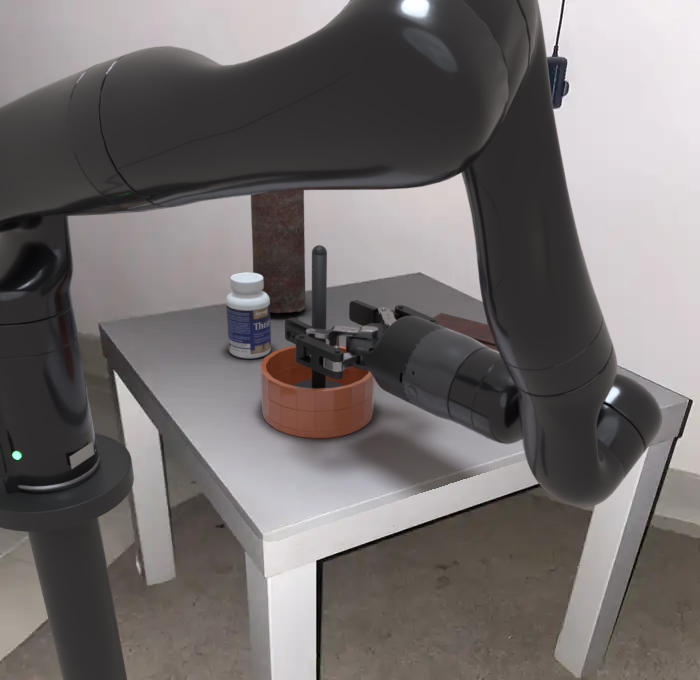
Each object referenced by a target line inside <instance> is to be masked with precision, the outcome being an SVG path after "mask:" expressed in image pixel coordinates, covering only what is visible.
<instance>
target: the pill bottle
mask: <svg viewBox="0 0 700 680" xmlns="http://www.w3.org/2000/svg"><path fill="white" fill-rule="evenodd" d="M263 288H264V281H263V276H262V275H260V274H257V273H253V272H251V271H244V272H238V273H234V274H232V275H231V276H230V289H231V290H232V291H231V292H230V293H228V295H227V296H226V297H225V300H226V301H225V305H226V306H225V307H226V320H227V321H226V323H227V343H228V350H229V353H230V354H231V355H233V356H235V357H236V358H240V359H249V360H250V359H258V358H263V357H266V356H268V355H269V354H270V352H271V350H272V335H271V334H272V333H271V332H272V331H271V312H270V299H269V296H268V295H267V294H266V293H265V292H264V291H262V290H263Z"/></svg>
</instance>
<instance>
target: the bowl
mask: <svg viewBox="0 0 700 680" xmlns="http://www.w3.org/2000/svg"><path fill="white" fill-rule="evenodd" d="M327 344H328V345H329V343H327ZM339 349H340V350H343V351H344V353H347V352H346V346H345V345H340V344H339ZM295 356H296V345H295V344H293V345H289V346H286V347H282V348H279V349H276V350H274V351H272V352H271V353H268V354H267V355H265V356H264V358H263V359H262V361H261V362H260V365H259V366H260V392H261V393H260V396H261V409H262V412H261V413H262V417H263V419H264V420H265V422H266V423H267V424H268V425H269V426H271V427H272V428H273V429H275V430H277V431H279V432H281V433H284V434H287V435H291V436H295V437H299V438H305V439H306V438H308V439H330V438H337V437H343V436H346V435H350V434H353V433H355V432H357V431H359V430H361V429H362V428H364V427H365V426H367V425H368V424H369V423H370V421H371V420H372V418H373V414H374V407H375V387H376V380H375V379H374V377H373V376H372V374H371V373H370V372H369V371H367V370H363V369H358V368H355V367H353V366H351V367H349V368H346V369H344V375H343V378H342V379H333V378H330V377H328V376H326V379H328V380H333V381H336V382H338V383H340V384H342V385H343V386H341V387H335V388H319V389H314V388H303V387H297V386H294V385H295V384H296V383H298V382H301V381H304V380H308V379H312V369H310V368H308V367H306V366H304V365H302V364H299V363H297V362H296V358H295Z"/></svg>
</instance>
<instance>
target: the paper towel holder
mask: <svg viewBox="0 0 700 680" xmlns="http://www.w3.org/2000/svg"><path fill="white" fill-rule="evenodd" d="M327 280H328V251H327V248H326V247H325V246H324V245H321V244H318V245H315V246H314V247H313V248H312V250H311V326H312V327H314V328H316V329H326V330H327V297H328V296H327V293H328V290H327V289H328V288H327V286H328V285H327V282H328V281H327ZM319 341H321V342H324V343H326V344H327V339H323V338H319ZM294 386H297V387H303V388H314V389H319V388H335V387H341V386H343V385H342V384H340V383H338V382H336V381H333V380H328V379H326V375H324V374H321V373H319V372H317V371H315V370H313V369H312V379H308V380H304V381H301V382H298V383H296V384H295V385H294Z"/></svg>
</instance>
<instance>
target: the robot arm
mask: <svg viewBox="0 0 700 680" xmlns="http://www.w3.org/2000/svg"><path fill="white" fill-rule="evenodd" d="M545 40H546V39H545V34H544V27H543V20H542V15H541V9H540V4H539V0H349V1H348V2H347V4H346V5H345V6H343V8H342V10H341V11H340V12H339V13H337V14H336V15H335V16H334V17H333V18H332V19H331V20H330V21H329V22H328V23H327V24H326V25H324V26H323V27H321V28H320V29H318V30H317V31H315V32H313V33H311V34H309V35H307V36H306V37H303V38H302V39H300V40H298V41H296V42H293V43H291V44H289V45H286V46H284V47H283V48H280V49H277V50H274V51H272V52H269V53H266V54H263V55H261V56H260V55H259V56H258V57H255V58H252V59H249V60H247V61H243V62H239V63H235V64H225V65H224V64H221V63H219V62H217V61H215V60H213V59H212V58H209V57H207V56H206V55H203V54H202V53H200V52H196V51H194V50H190V49H189V48H188V49H187V48H183V47H177V46H174V45H173V46H172V45H170V46H169V45H165V46H163V45H162V46H161V45H160V46H152V47H147V48H142V49H138V50H134V51H131V52H129V53H125V54H123V55H119V56H117V57H114V58H111V59H108V60H105V61H102V62H99V63H96V64H94V65H92V66H89V67H86V68H84V69H82V70H80V71H78V72H75V73H73V74H70V75H68V76H65V77H63V78H61V79H58V80H56V81H53V82H51V83H49V84H46V85H44V86H41V87H39V88H37V89H35V90H33V91H31V92H28V93H26V94H24V95H22V96H19V97H18V98H16V99H14V100H12V101H10V102H8V103H6V104H4V105H1V106H0V477H2V479H3V481H4V484H5V488H6V492H7V493H8V494H11V493H15V492H24V493H33V494H43V493H53V492H58V491H63V490H66V489H70V488H73V487H75V486H78V485H80V484H82V483H84V482H85V481H87V480H88V479H90V478H91V477H92V476H93V475H94V474H95V473H96V472H97V471H98V469H99V467H100V457H99V453H98V451H97V443H96V440H95V434H94V433H95V428H94V422H93V417H92V410H91V405H90V398H89V392H88V387H87V380H86V375H85V368H84V363H83V358H82V351H81V350H82V349H81V345H80V339H79V334H78V328H77V327H78V326H77V320H76V315H75V309H74V304H73V299H72V298H73V297H72V291H71V285H72V280H73V276H74V258H73V250H72V242H71V240H72V239H71V231H70V223H69V217H80V216H81V217H82V216H84V217H85V216H103V215H118V214H130V213H131V214H133V213H142V212H143V213H145V212H150V211H158V210H162V209H169V208H177V207H183V206H188V205H191V204H195V203H196V204H197V203H200V202H205V201H206V202H207V201H213V200H222V199H229V198H240V197H246V196H251V195H255V194H262V193H269V192H277V191H293V190H304V191H384V190H386V191H387V190H405V189H415V188H422V187H427V186H431V185H435V184H439V183H442V182H445V181H448V180H450V179H453V178H455V177H456V176H458V175H460V174H461V176H462V181H463V185H464V187H465V192H466V197H467V200H468V205H469V211H470V215H471V222H472V229H473V235H474V243H475V252H476V262H477V271H478V281H479V289H480V295H481V300H482V307H483V310H484V311H483V312H484V315H485V319H486V322H487V323H486V324H487V325H488V327H489V330H490V333H491V335H492V338H493V340H494V343H495V345H496V347H497V349H498V351H499V352H498V351H496V350H493V349H491V348H489V347H487V346H485V345H483V344H482V343H480V342H478V341H477V340H475V339H473V338H471V337H469V336H466V335H464V334H461V333H458V332H456V331H453V330H451V329H448V328H446V327H443V326H441V325H438V324H439V321H438V320H436V319H434V318H433V317H431V316H429V315H427V314H425V313H422V312H420V311H418V310H415V309H413V308H411V307H408V306H406V305H403V304H398V305H397V304H396V305H395V306H394V310H391V309H390V308H389V307H386V306H381V307H376V306H373V305H371V304H369V303H367V302H363V301H361V300H358V299H354V300H352V301H350V302H349V303H348V304H349V306H348V318H349V320H350V321H351V322H352V323H355V324H357V325H360V326H361V327H360V326H359V327H357V326H348V325H347V326H346V325H333V326H332V327H331V328H330V329H327V328H326V329H316V328H314V327H312V325H311V324H308V323H306V322H304V321H301V320H299V319H297V318H295V317H290V318H287V319H285V321H284V338H285V340H286V341H288V342H290V343H292V344H293V345H296V356H295V358H296V362H297V363H299V364H302V365H304V366H306V367H308V368H310V369H313V370H315V371H317V372H319V373H321V374H324V375H326V376H328V377H330V378H333V379H342V378H343V375H344V369H346V368H349V367H351V366H353V367H355V368H358V369H363V370H367V371H369V372H370V373H371V374H372V376H373V377H374V379H375V383H376V384H377V385H378V386H379V388H380V389H382V390H383V391H384V392H386V393H388V394H390V395H392V396H394V397H396V398H398V399H400V400H402V401H405V402H406V403H409V404H411V405H412V406H415V407H417V408H418V409H420V410H422V411H425V412H427V413H429V414H431V415H432V416H435V417H437V418H440V419H443V420H446V421H450V422H452V423H455V424H458V425H460V426H461V427H464V428H466V429H468V430H470V431H472V432H474V433H476V434H477V435H480V436H482V437H483V438H486V439H488V440H490V441H492V442H495V443H498V444H502V445H511V444H515V443H519V442H521V440H522V446H523V452H524V456H525V459H526V462H527V465H528V468H529V471H530V472H531V474H532V476H533V477H534V479H535V480H536V482H537V483H538V484H539V486H540V487H541V489H543V490H544V491H545V492H546V493H547V494H548V495H549V496H551V497H552V498H553V499H555V500H556V501H557V502H560V503H562V504H563V505H565V506H570V507H575V508H590V507H593V506H597V505H599V504H601V503H603V502H605V501H606V500H607V499H608V498H609V497H611V496H612V495H613V494H614V492H616V490H617V489H618V488H619V486H620V485H621V484H622V482H623V481H624V479H625V478H626V477H627V476H628V475H629V473H630V472H631V470H632V469H633V468H634V467H635V466H636V464H637V462H638V461H639V460H640V459H641V458H642V456H643V454H644V453H646V451H647V450H648V449H649V448H650V446H651V445H652V443H653V442H654V441H655V439H656V438H657V436H658V434H659V433H660V431H661V428H662V424H663V413H662V409H661V406H660V405H659V402H658V401H657V399H656V398H655V396H654V395H653V394H652V392H651V391H649V389H648V388H646V387H645V385H642V384H641V383H640V382H639V381H637V380H635V379H633V378H631V377H629V376H627V375H624V374H622V373H619V372H618V359H617V354H616V349H615V346H614V343H613V340H612V338H611V335H610V334H611V333H610V331H609V329H608V326H607V323H606V320H605V317H604V314H603V311H602V308H601V305H600V303H599V300H598V297H597V295H596V292H595V289H594V285H593V283H592V279H591V276H590V271H589V269H588V266H587V262H586V258H585V256H584V252H583V251H584V250H583V248H582V244H581V240H580V237H579V233H578V229H577V225H576V220H575V215H574V212H573V207H572V202H571V198H570V193H569V192H570V191H569V188H568V182H567V178H566V173H565V166H564V161H563V155H562V150H561V144H560V140H559V139H560V138H559V133H558V129H557V123H556V117H555V111H554V105H553V104H554V103H553V95H552V89H551V88H552V87H551V81H550V72H549V64H548V56H547V55H548V54H547V48H546V41H545ZM340 337H345V347H346V352H347V353H344V351H343V350H340V349H339V345H340ZM319 338H323V339H326V340H328V342H329V343H327V342H326V343H324V342H321V341H319ZM328 344H329V345H328Z"/></svg>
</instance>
